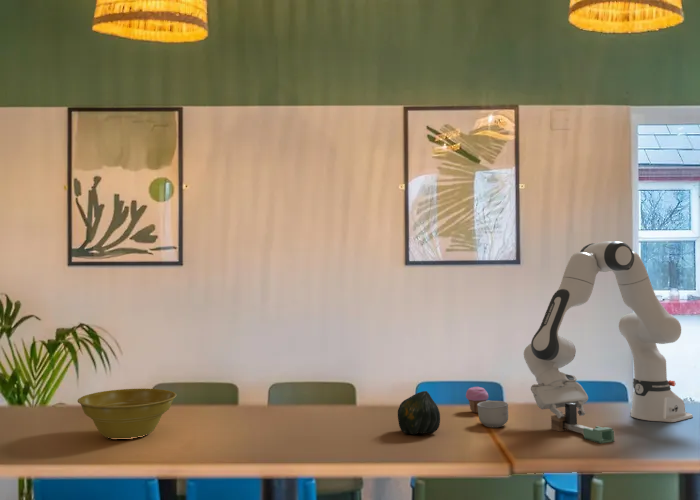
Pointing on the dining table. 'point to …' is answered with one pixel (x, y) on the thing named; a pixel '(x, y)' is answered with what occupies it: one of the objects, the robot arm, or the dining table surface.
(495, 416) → the teacup
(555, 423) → the socket block
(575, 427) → the two-tone rectangular rod
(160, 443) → the dining table surface
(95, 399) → the planter bowl
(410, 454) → the dining table surface
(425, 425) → the squash
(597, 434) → the green slotted block
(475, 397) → the cupcake
